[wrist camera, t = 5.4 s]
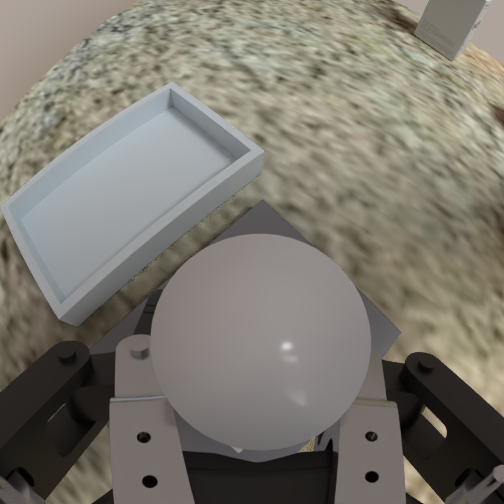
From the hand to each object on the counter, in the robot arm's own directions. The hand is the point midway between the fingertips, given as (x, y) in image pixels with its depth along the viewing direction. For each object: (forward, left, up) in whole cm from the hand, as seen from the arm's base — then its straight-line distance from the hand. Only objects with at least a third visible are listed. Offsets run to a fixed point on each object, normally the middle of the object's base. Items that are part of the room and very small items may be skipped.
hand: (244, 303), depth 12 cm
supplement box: (-50, -8, -7) cm, 51 cm away
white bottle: (+1, +1, -6) cm, 6 cm away
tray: (-1, -12, -7) cm, 14 cm away
